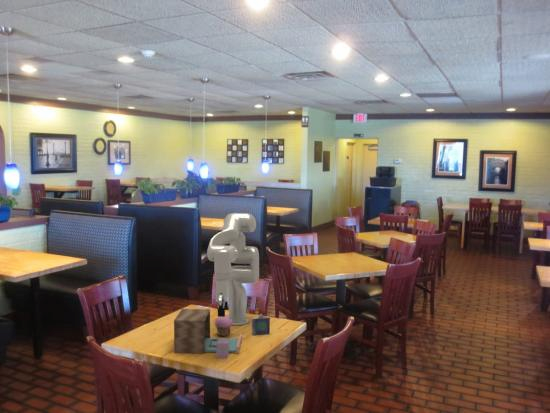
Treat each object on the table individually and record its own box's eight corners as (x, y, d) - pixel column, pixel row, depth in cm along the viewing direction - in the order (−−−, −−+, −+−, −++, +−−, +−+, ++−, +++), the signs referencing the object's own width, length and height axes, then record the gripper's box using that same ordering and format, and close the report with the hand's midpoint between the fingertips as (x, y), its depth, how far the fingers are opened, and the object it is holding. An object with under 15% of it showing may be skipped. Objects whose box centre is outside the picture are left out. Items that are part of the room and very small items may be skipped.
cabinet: (174, 352, 218) (173, 320, 217) (182, 339, 235) (182, 308, 234) (204, 353, 218) (204, 320, 217) (210, 339, 235) (210, 309, 234)
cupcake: (235, 333, 244) (235, 314, 243) (227, 339, 236) (227, 319, 235) (219, 331, 247) (219, 312, 246) (212, 336, 239) (212, 317, 238)
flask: (252, 335, 241) (252, 315, 240) (251, 333, 243) (251, 313, 242) (270, 334, 243) (270, 314, 242) (269, 332, 245) (269, 312, 244)
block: (218, 353, 218) (218, 339, 217) (229, 353, 218) (228, 339, 217) (216, 358, 213) (216, 343, 212) (227, 358, 213) (227, 343, 212)
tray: (200, 352, 218) (200, 346, 218) (206, 338, 235) (206, 332, 235) (238, 353, 218) (238, 346, 217) (242, 339, 235) (242, 333, 234)
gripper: (217, 271, 221) (217, 307, 222) (211, 280, 203) (211, 319, 205) (233, 271, 220) (233, 307, 222) (228, 280, 203) (228, 319, 205)
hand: (222, 312), depth 213 cm, fingers open, 9 cm apart
